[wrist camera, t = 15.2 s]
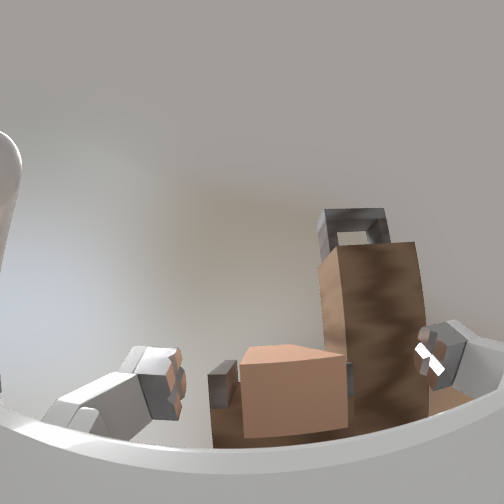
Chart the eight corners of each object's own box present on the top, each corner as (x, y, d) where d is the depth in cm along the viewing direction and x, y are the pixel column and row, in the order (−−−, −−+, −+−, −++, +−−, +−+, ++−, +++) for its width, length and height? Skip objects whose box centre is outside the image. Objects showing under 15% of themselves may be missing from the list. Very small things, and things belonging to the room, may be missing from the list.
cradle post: (231, 577, 10) (207, 374, 15) (237, 515, 20) (225, 360, 25) (343, 566, 10) (352, 362, 15) (319, 509, 20) (316, 353, 25)
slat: (244, 438, 10) (239, 364, 10) (251, 376, 27) (249, 346, 28) (347, 427, 10) (345, 354, 10) (292, 373, 27) (290, 344, 28)
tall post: (345, 517, 18) (327, 191, 26) (327, 483, 25) (312, 223, 34) (419, 494, 18) (402, 191, 26) (390, 469, 25) (375, 221, 34)
